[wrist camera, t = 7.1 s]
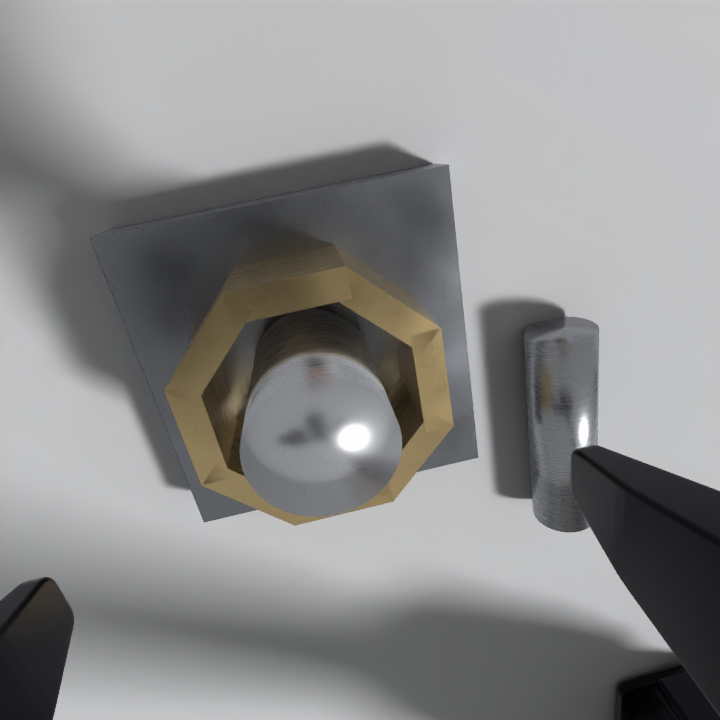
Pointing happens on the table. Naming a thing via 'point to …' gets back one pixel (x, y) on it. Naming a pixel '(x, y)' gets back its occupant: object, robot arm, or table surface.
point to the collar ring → (289, 294)
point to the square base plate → (301, 333)
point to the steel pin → (560, 412)
